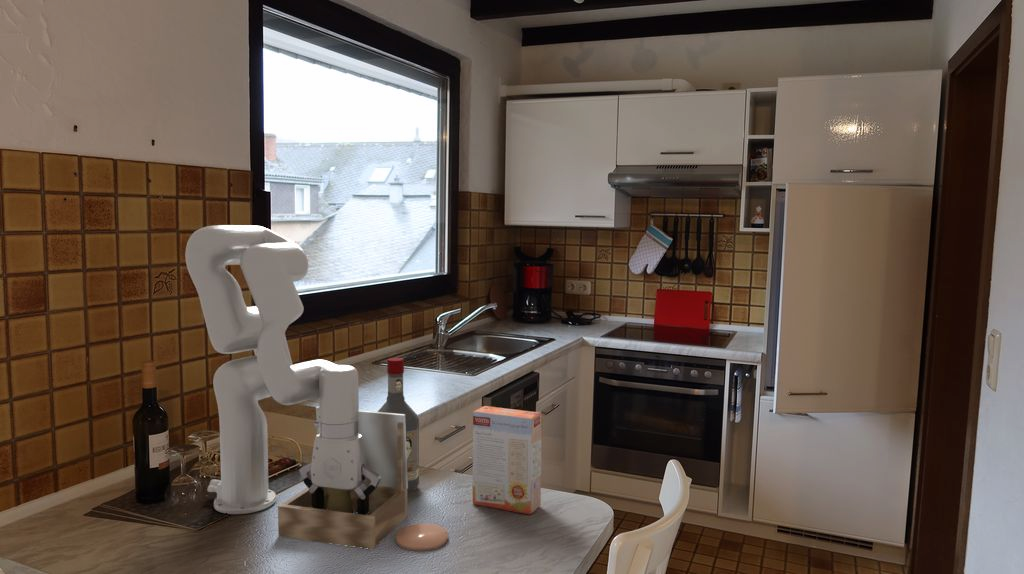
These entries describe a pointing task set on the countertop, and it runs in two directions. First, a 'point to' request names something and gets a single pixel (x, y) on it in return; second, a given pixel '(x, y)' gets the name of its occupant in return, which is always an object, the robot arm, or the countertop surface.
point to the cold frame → (385, 502)
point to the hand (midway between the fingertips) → (340, 513)
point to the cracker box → (507, 459)
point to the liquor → (399, 406)
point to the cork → (339, 500)
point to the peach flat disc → (421, 537)
